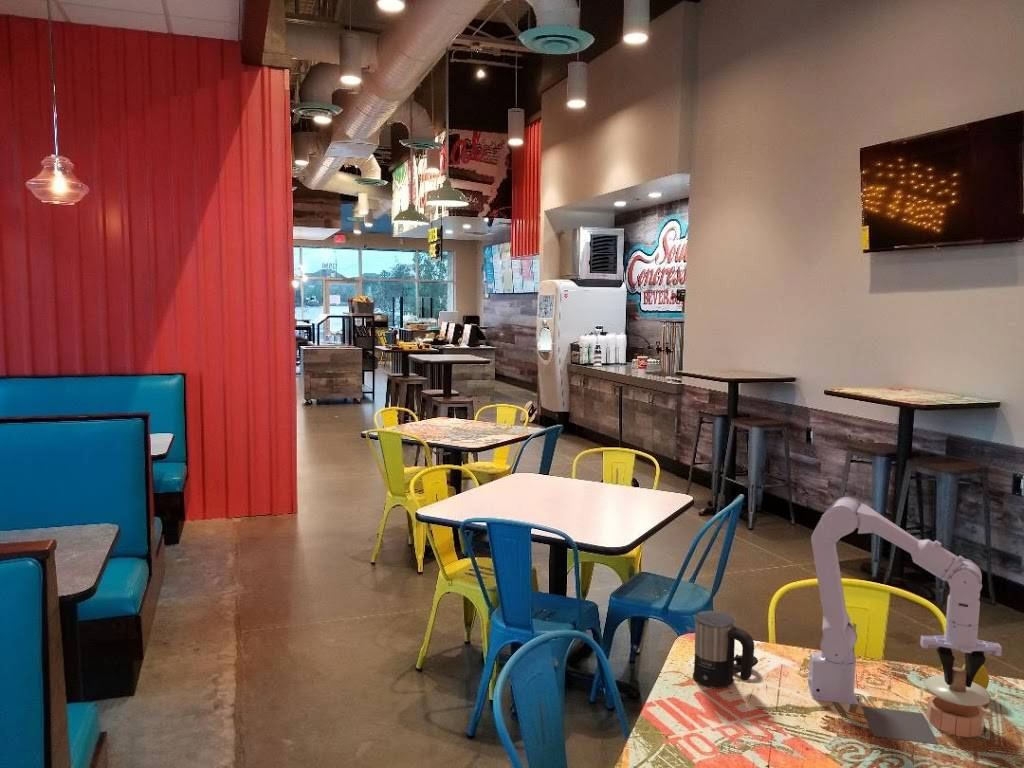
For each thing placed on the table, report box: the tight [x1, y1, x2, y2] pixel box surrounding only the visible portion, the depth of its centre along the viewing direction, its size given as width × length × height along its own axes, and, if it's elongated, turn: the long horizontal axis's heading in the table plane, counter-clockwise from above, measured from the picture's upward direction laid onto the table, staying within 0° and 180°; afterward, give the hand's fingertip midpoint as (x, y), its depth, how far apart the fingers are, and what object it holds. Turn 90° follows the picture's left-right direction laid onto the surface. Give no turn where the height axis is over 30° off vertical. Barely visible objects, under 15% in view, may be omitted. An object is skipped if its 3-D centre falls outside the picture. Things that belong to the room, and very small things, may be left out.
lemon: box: [961, 663, 990, 690], centre depth 174 cm, size 6×6×8 cm
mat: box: [861, 705, 940, 745], centre depth 161 cm, size 12×12×1 cm
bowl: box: [926, 694, 986, 738], centre depth 162 cm, size 10×10×4 cm
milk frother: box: [692, 610, 759, 689], centre depth 182 cm, size 14×16×15 cm
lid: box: [925, 666, 991, 707], centre depth 161 cm, size 12×12×5 cm
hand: (957, 683), depth 161 cm, fingers closed on lid, 3 cm apart
